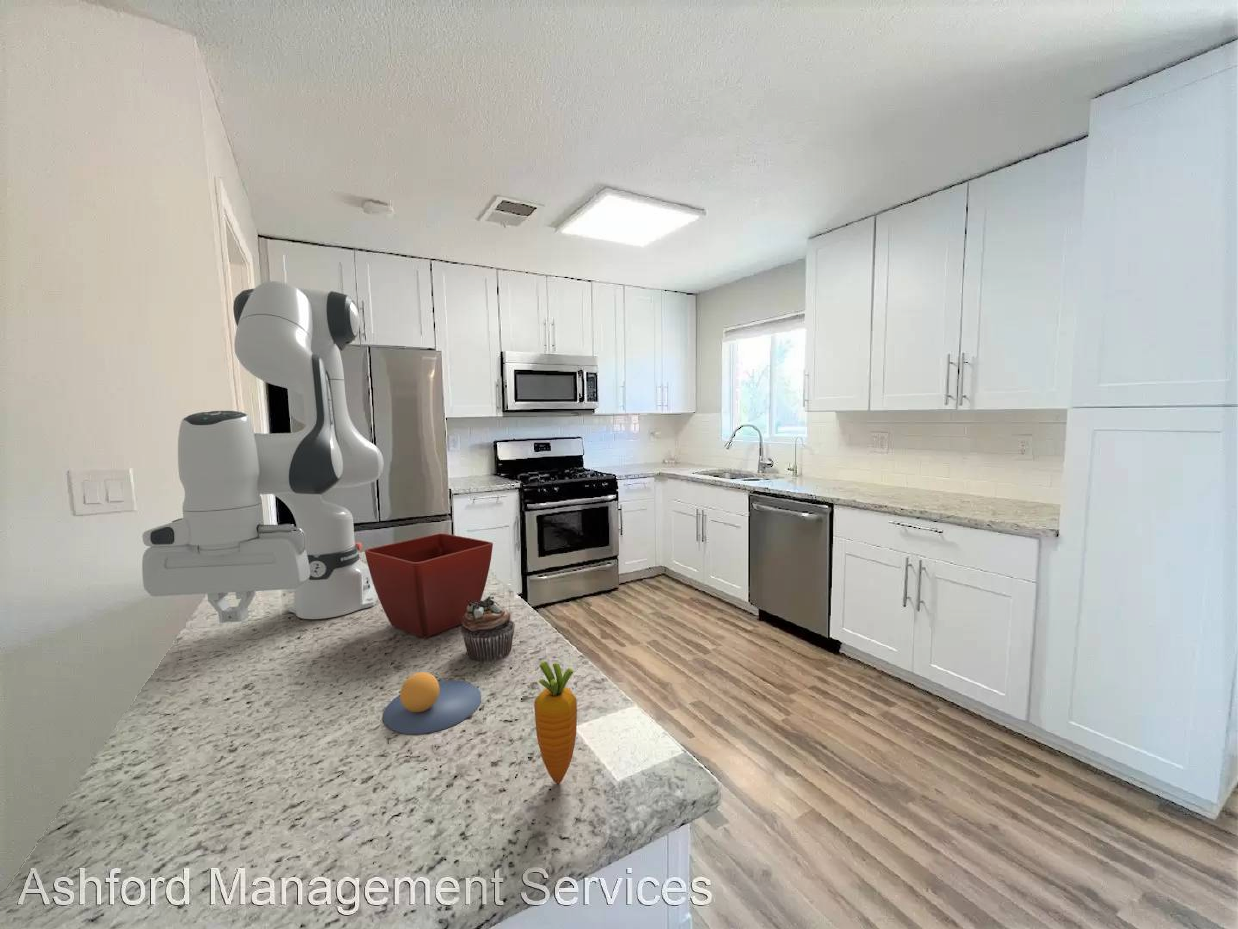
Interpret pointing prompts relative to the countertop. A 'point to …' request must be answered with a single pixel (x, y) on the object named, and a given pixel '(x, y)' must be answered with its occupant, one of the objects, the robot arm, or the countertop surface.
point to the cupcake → (487, 630)
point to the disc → (435, 709)
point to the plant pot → (429, 580)
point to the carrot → (556, 721)
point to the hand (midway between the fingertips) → (234, 620)
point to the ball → (419, 692)
